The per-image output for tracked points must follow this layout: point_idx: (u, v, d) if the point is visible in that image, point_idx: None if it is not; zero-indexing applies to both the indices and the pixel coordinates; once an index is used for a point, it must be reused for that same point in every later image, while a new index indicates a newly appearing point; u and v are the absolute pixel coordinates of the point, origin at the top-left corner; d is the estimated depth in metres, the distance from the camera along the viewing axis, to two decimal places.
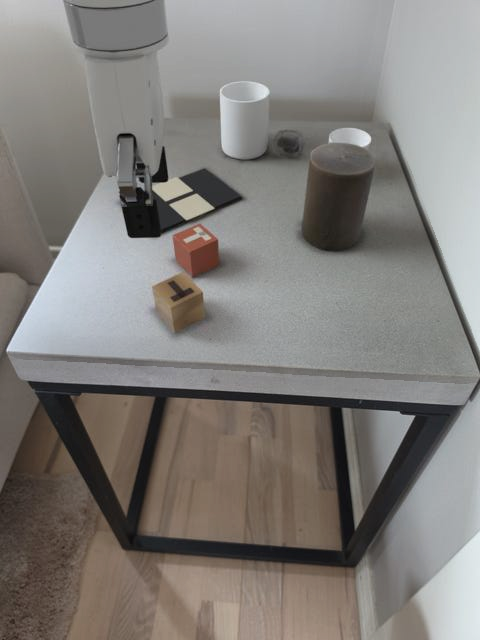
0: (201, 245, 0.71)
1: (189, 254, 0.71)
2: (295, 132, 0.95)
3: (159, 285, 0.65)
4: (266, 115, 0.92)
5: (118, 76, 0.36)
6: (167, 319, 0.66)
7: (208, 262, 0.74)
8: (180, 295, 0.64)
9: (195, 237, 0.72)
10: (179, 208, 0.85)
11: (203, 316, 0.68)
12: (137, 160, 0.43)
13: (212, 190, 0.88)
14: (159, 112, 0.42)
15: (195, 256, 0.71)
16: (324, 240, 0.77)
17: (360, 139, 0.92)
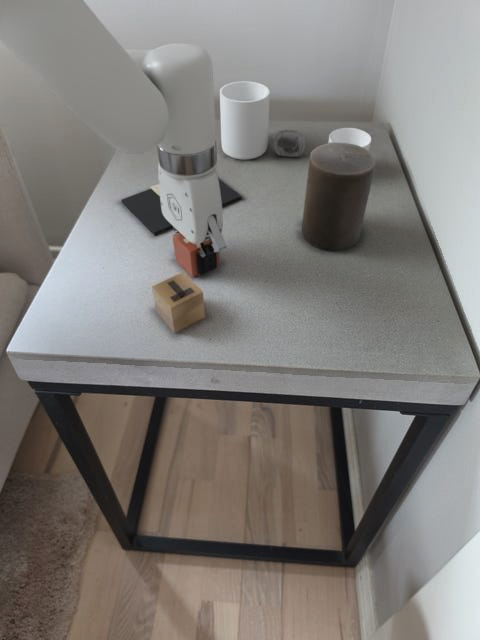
0: None
1: (189, 254, 0.71)
2: (295, 132, 0.95)
3: (159, 285, 0.65)
4: (266, 115, 0.92)
5: (209, 184, 0.62)
6: (167, 319, 0.66)
7: None
8: (180, 295, 0.64)
9: None
10: None
11: (203, 316, 0.68)
12: None
13: None
14: None
15: (195, 256, 0.71)
16: (324, 240, 0.77)
17: (360, 139, 0.92)
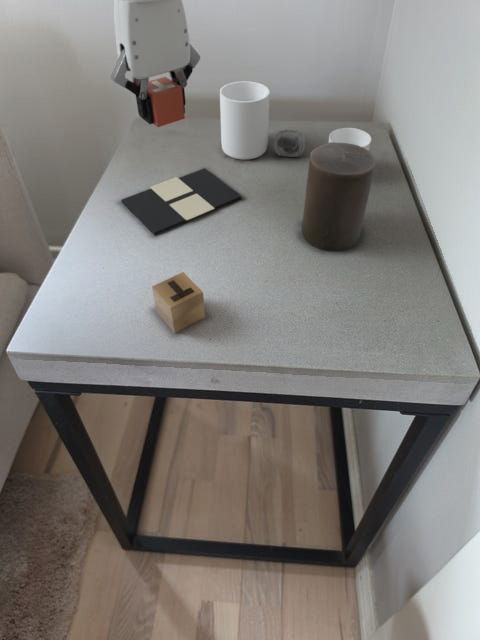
0: None
1: None
2: (295, 132, 0.95)
3: (159, 285, 0.65)
4: (266, 115, 0.92)
5: (119, 8, 0.64)
6: (167, 319, 0.66)
7: None
8: (180, 295, 0.64)
9: (158, 85, 0.74)
10: (179, 208, 0.85)
11: (203, 316, 0.68)
12: None
13: (212, 190, 0.88)
14: (154, 43, 0.68)
15: None
16: (324, 240, 0.77)
17: (360, 139, 0.92)
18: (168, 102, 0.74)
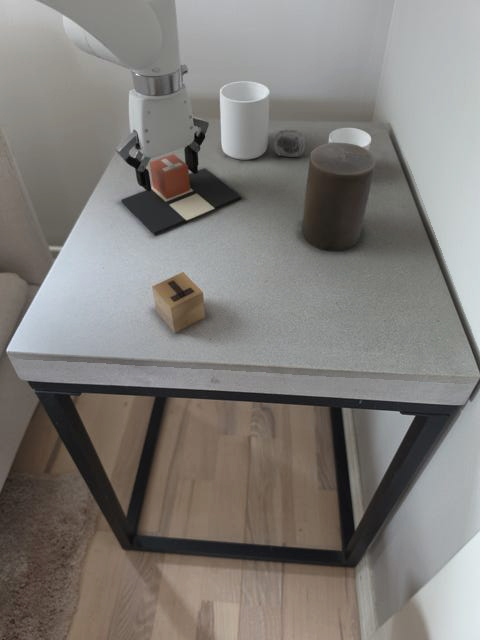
0: (156, 167, 0.84)
1: (151, 165, 0.86)
2: (295, 132, 0.95)
3: (159, 285, 0.65)
4: (266, 115, 0.92)
5: (134, 103, 0.74)
6: (167, 319, 0.66)
7: (160, 187, 0.86)
8: (180, 295, 0.64)
9: (167, 163, 0.85)
10: (179, 208, 0.85)
11: (203, 316, 0.68)
12: None
13: (212, 190, 0.88)
14: (164, 129, 0.78)
15: (152, 170, 0.86)
16: (324, 240, 0.77)
17: (360, 139, 0.92)
18: (176, 178, 0.85)
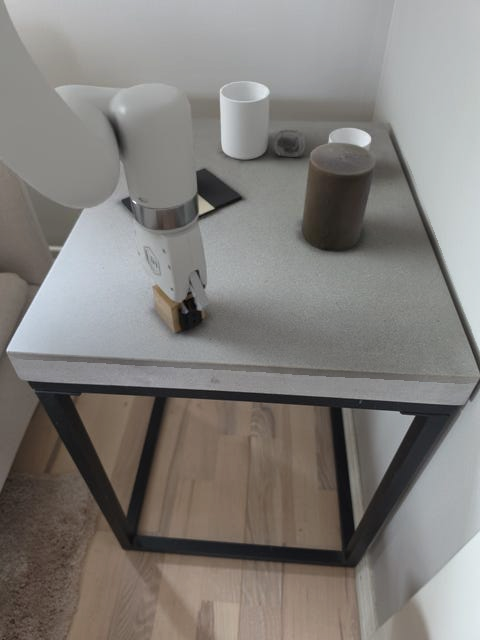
0: None
1: None
2: (295, 132, 0.95)
3: None
4: (266, 115, 0.92)
5: (189, 239, 0.54)
6: (167, 319, 0.66)
7: None
8: None
9: None
10: None
11: (203, 316, 0.68)
12: None
13: (212, 190, 0.88)
14: None
15: None
16: (324, 240, 0.77)
17: (360, 139, 0.92)
18: None
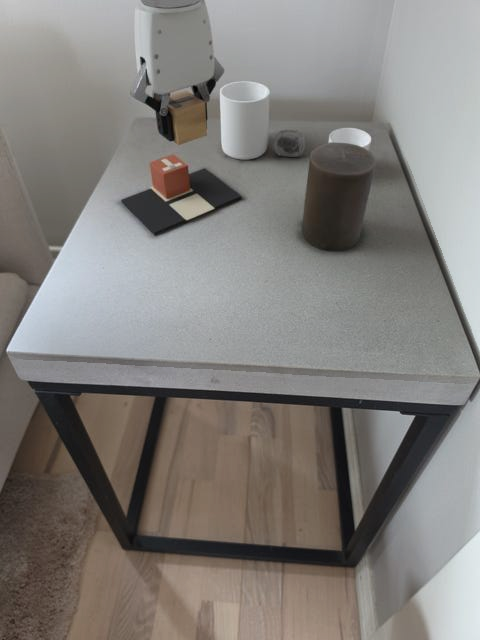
0: (156, 167, 0.84)
1: (151, 165, 0.86)
2: (295, 132, 0.95)
3: (187, 93, 0.71)
4: (266, 115, 0.92)
5: (141, 19, 0.60)
6: None
7: (160, 187, 0.86)
8: (171, 101, 0.69)
9: (167, 163, 0.85)
10: (179, 208, 0.85)
11: (177, 142, 0.71)
12: None
13: (212, 190, 0.88)
14: (178, 57, 0.63)
15: (152, 170, 0.86)
16: (324, 240, 0.77)
17: (360, 139, 0.92)
18: (176, 178, 0.85)
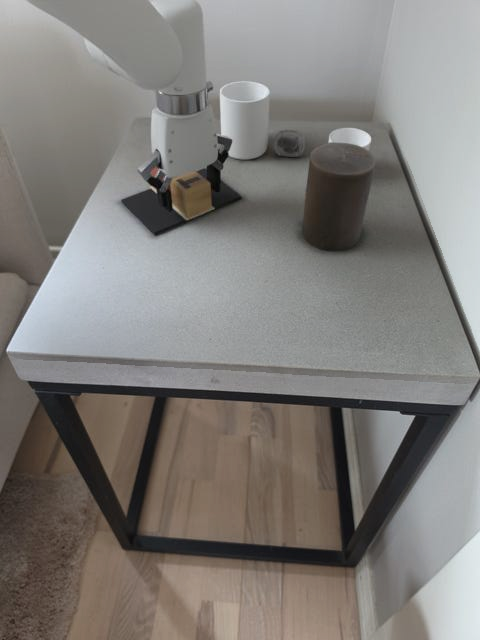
0: None
1: None
2: (295, 132, 0.95)
3: (195, 173, 0.83)
4: (266, 115, 0.92)
5: (157, 122, 0.71)
6: None
7: None
8: (182, 182, 0.81)
9: None
10: None
11: (186, 215, 0.83)
12: None
13: (212, 190, 0.88)
14: (187, 149, 0.74)
15: (152, 170, 0.86)
16: (324, 240, 0.77)
17: (360, 139, 0.92)
18: None
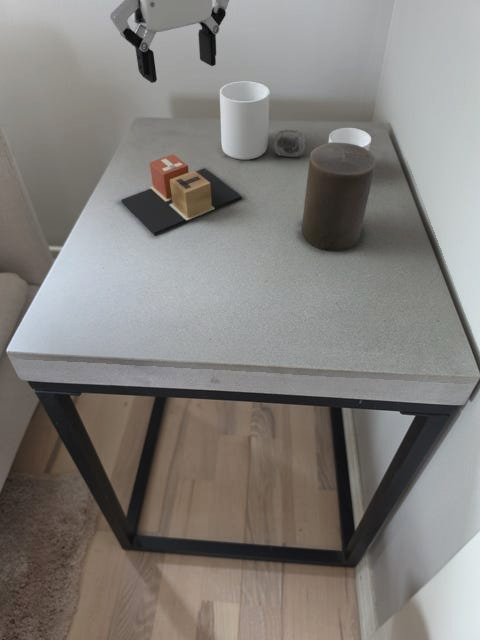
0: (156, 167, 0.84)
1: (151, 165, 0.86)
2: (295, 132, 0.95)
3: (195, 173, 0.83)
4: (266, 115, 0.92)
5: None
6: None
7: (160, 187, 0.86)
8: (182, 182, 0.81)
9: (167, 163, 0.85)
10: None
11: (186, 215, 0.83)
12: None
13: (212, 190, 0.88)
14: None
15: (152, 170, 0.86)
16: (324, 240, 0.77)
17: (360, 139, 0.92)
18: None
